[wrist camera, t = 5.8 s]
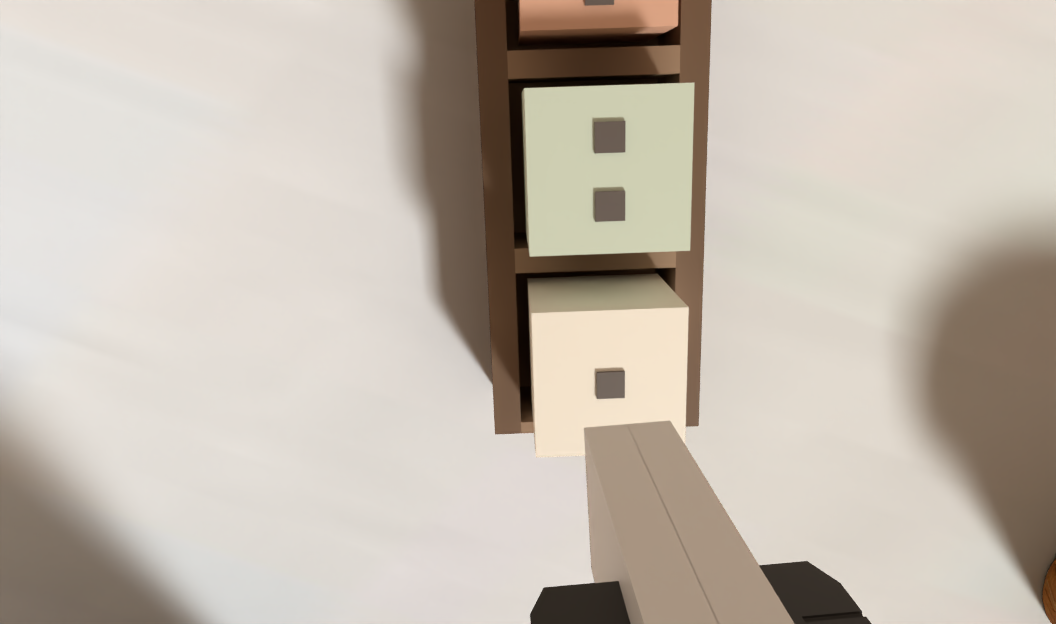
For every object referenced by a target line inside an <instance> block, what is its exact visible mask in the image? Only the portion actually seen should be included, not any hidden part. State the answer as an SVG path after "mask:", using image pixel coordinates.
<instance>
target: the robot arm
mask: <svg viewBox="0 0 1056 624" xmlns="http://www.w3.org/2000/svg"><path fill="white" fill-rule="evenodd" d="M584 441H585V460H586V478H587V497H588V515H589V533H590V552H591V568H592V573H593V577H594V582H595V583H590V584H579V585H568V586H557V587H545V588H543V590H542V592H541V594H540V596H539V598H538V600H537V602H536V604H535V606H534V608H533V610H532V612H531V614H530V618H531V624H871V623H870V621H869V620H868V619H867V617H863V616H862V611H861V610H860V608H859V607H858V606H857V604H856V603H855V602H854V600H853V599H852V598H851V596H850V595H849V594H848V593H847V591H846V590H845V589H844V587H843V586H842V585H841V583H839V582H838V581H836V580H835V579H833V578H832V577H830V576H829V575H827V574H826V573H824V572H823V571H821V570H820V569H818V568H817V567H815V566H814V565H812V564H811V563H809V562H808V561H804V562H792V563H781V564H770V565H758V563H757V562H756V560H755V558H754V557H753V555H752V553H751V552H750V550H749V548H748V547H747V545H746V544H745V542H744V540H743V539H742V537H741V535H740V534H739V532H738V530H737V529H736V527H735V526H734V524H733V522H732V521H731V519H730V517H729V516H728V514H727V512H726V511H725V509H724V508H723V506H722V504H721V503H720V501H719V499H718V498H717V496H716V494H715V493H714V491H713V490H712V488H711V486H710V485H709V483H708V481H707V480H706V478H705V476H704V475H703V473H702V472H701V470H700V468H699V467H698V465H697V463H696V462H695V460H694V459H693V457H692V455H691V454H690V452H689V450H688V449H687V447H686V445H685V444H684V442H683V441H682V439H681V437H680V436H679V434H678V432H677V431H676V429H675V427H674V426H673V424H672V423H671V421H658V422H646V423H634V424H622V425H610V426H598V427H586V428H584Z"/></svg>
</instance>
